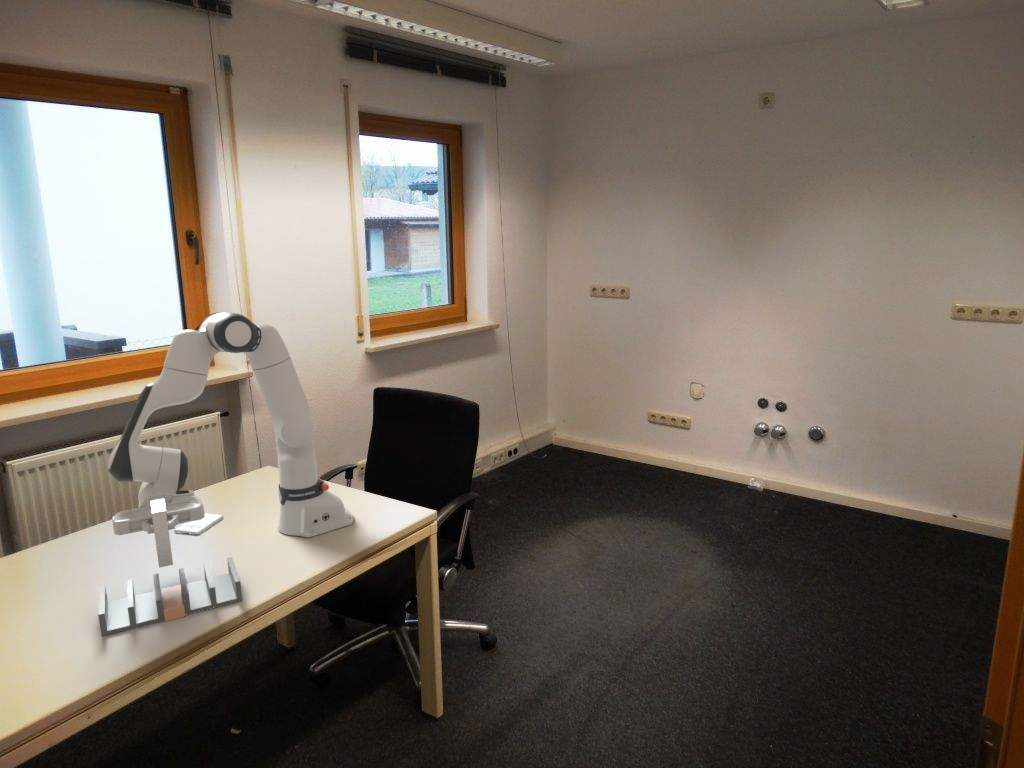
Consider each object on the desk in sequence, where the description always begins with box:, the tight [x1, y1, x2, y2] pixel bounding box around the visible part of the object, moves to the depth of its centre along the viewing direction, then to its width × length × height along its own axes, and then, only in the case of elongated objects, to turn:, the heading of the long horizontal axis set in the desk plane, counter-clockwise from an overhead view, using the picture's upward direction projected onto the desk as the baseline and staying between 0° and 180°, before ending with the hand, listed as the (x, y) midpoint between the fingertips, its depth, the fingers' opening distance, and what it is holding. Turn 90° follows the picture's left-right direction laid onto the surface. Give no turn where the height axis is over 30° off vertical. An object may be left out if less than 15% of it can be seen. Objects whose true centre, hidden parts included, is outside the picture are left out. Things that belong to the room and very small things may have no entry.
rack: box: [97, 556, 243, 637], centre depth 167 cm, size 30×15×6 cm, turn 120°
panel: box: [150, 499, 174, 568], centre depth 164 cm, size 3×8×14 cm, turn 29°
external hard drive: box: [173, 512, 224, 536], centre depth 211 cm, size 2×8×12 cm
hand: (161, 528), depth 164 cm, fingers closed on panel, 3 cm apart
